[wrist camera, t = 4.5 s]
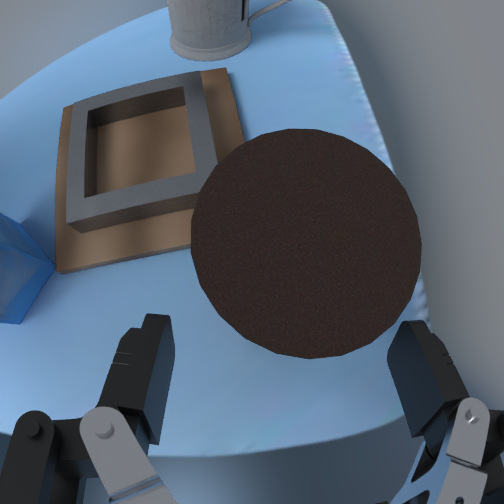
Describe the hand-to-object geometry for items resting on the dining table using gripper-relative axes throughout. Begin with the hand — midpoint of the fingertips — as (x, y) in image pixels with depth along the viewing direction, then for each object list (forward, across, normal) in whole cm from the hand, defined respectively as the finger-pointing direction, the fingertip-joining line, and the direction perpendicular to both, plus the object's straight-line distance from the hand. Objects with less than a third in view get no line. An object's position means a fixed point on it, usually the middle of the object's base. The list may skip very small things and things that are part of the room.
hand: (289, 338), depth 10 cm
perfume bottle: (+10, +21, +6) cm, 24 cm away
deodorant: (+10, 0, +6) cm, 12 cm away
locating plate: (+17, +10, -1) cm, 20 cm away
